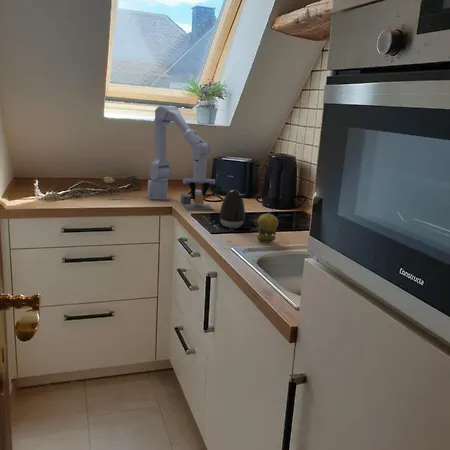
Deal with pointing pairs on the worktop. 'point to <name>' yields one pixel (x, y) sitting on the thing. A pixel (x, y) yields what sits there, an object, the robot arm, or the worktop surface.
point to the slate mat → (197, 206)
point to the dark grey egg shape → (232, 210)
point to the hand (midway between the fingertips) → (198, 199)
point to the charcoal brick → (185, 199)
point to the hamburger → (267, 227)
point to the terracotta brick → (198, 198)
